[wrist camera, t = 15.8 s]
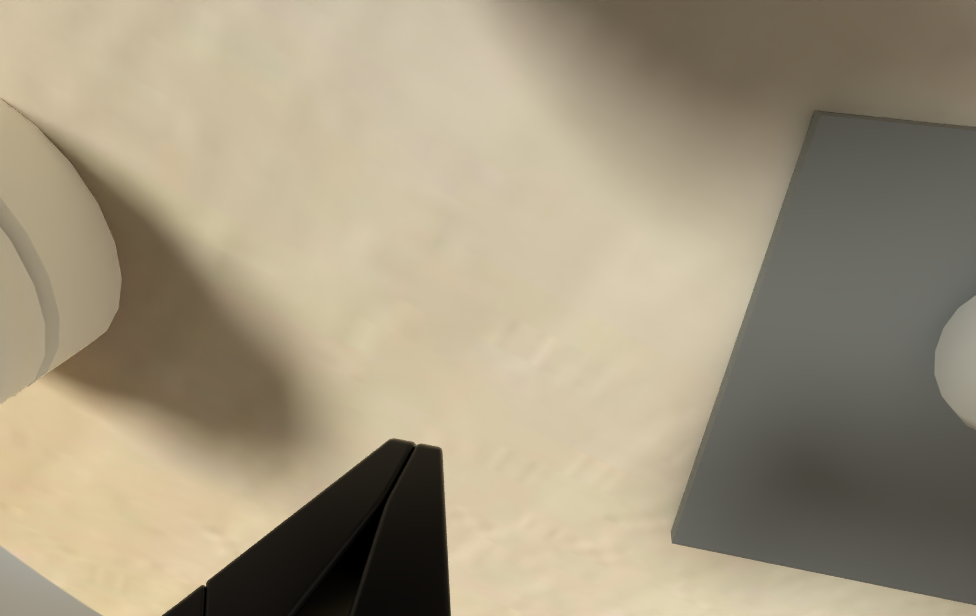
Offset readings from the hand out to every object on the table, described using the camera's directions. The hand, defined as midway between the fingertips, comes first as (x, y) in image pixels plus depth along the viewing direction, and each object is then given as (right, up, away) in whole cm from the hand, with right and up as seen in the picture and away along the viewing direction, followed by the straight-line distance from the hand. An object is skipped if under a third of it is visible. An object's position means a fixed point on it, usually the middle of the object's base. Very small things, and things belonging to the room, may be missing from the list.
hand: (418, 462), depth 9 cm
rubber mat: (+17, -1, +11) cm, 20 cm away
